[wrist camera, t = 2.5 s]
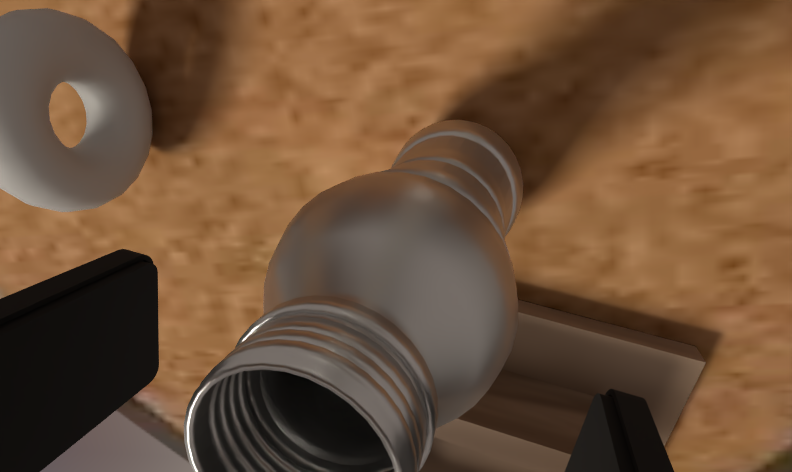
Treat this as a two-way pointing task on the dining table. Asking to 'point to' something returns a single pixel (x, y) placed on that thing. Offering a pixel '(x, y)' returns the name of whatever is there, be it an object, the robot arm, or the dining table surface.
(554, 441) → the bottle stand
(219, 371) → the plastic bottle
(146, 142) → the donut
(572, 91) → the dining table surface
